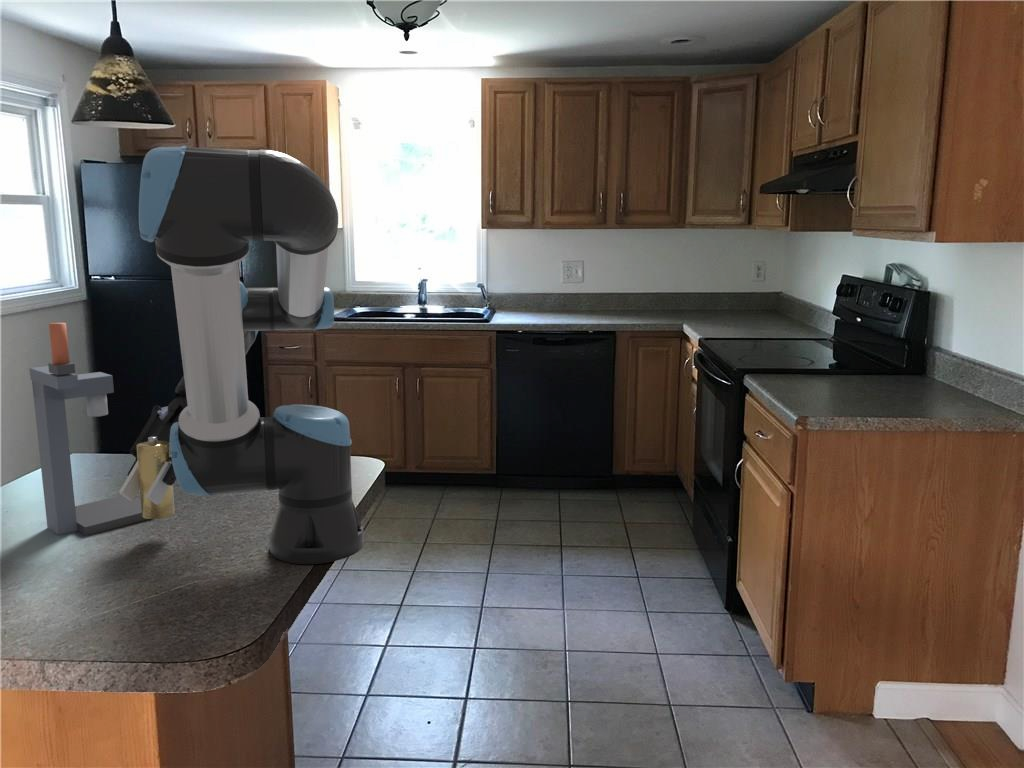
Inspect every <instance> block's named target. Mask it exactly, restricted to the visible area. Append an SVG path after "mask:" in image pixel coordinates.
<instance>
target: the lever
mask: <svg viewBox="0 0 1024 768" xmlns="http://www.w3.org/2000/svg"><path fill="white" fill-rule="evenodd" d="M67 331H68V329H67V323H66V322H49V323H48V332H49V339H50V340H49V341H50V349H51V361H52V362H48V363H47V364H48V365H47V366H49V372H50V373H53V374H56V375H63V374H72V373H73V374H76V366H75V363H73V362H71V361H70V352H69V341H68V332H67Z"/></svg>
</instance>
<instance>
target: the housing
mask: <svg viewBox="0 0 1024 768" xmlns="http://www.w3.org/2000/svg"><path fill="white" fill-rule="evenodd" d="M168 457H169V458H170V457H172V455H171V450H170V441H158V439H157V436H151V437H148V442H143V443H140V444H138V445H137V458H138V471H139V484H140V489H139V493H140V502H141V510H142V517H143V518H146V519H147V520H159V519H164V518H169V517H171V516H173V515H174V514H175V500H174V487H173V486H174V484H173V485H170V486H169V488H168V490H167V492H166V494H165V495H164V497H163V499H162V501H161V503H160V504H159V505H156V504H154V503H153V502H152V501H151V500H149V499H148V498H147V497H146V495H147V493H148V491H149V490H150V488H151V486H152V484H153V482H154V481H155V479H156V477H157V475H158V474H159V472H160V470H161V468H162V467H163V465H164V463H165V462H170V463H172V462H171V461H170V460H169V459H168Z"/></svg>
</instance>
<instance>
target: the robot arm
mask: <svg viewBox="0 0 1024 768" xmlns="http://www.w3.org/2000/svg"><path fill="white" fill-rule="evenodd" d="M338 229H339V211H338V207H337V203H336V201H335V198H334V196H333V195H332V193H331V190H330V189H329V187H328V186H327V185H326V183H325V182H324V181H323V180H322V178H320V176H319V175H317V173H316V172H314V170H312V169H311V168H310V167H308V166H307V165H306V164H304V163H303V162H301V160H298V159H297V158H294V157H292V156H290V155H288V154H286V153H283V152H279V151H276V150H271V149H241V148H240V149H239V148H238V149H237V148H236V149H235V148H215V147H214V148H213V147H190V146H187V145H181V146H179V147H178V146H177V147H176V146H175V147H172V146H170V147H169V146H168V147H167V146H165V147H162V146H161V147H155V148H152V149H150V150H149V151H148V152H146V154H145V156H144V157H143V162H142V167H141V173H140V182H139V197H138V230H139V234H140V238H141V239H142V240H143V241H146V242H148V243H153V242H154V246H155V250H156V255H157V257H158V258H159V259H160V260H161V261H163V262H164V263H166V264H167V265H168V266H170V270H171V279H172V287H173V295H174V302H175V303H174V304H175V311H176V319H177V328H178V329H177V330H178V336H179V337H178V338H179V346H180V354H181V360H182V361H181V363H182V369H183V370H182V371H183V376H182V377H181V378H180V380H179V382H178V384H177V386H176V387H175V391H174V392H175V397H174V399H173V400H172V401H171V402H170V403H169V404H168V406H163V407H161V406H159V405H158V404H156V405H154V406H153V408H152V410H151V414H150V417H149V418H148V420H147V422H146V423H145V425H143V426H144V427H143V428H142V430H141V432H140V434H139V435H138V436H137V438H136V440H135V441H134V443H133V445H132V446H131V448H130V450H129V454H131V456H133V457H134V458H135V460H134V461H133V464H132V465H131V468H129V470H128V472H127V478H126V480H125V481H124V483H123V484H122V486H121V488H120V489H119V491H118V493H119V494H120V496H121V495H123V496H124V497H125V498H127V499H128V500H130V501H133V499H135V497H136V496H137V494H138V492H139V491H140V484H139V471H138V458H137V445H138V444H140V443H143V442H148V437H151V436H157V439H158V441H168V442H170V454H171V457H170V458H169V457H168V459H169V460H170V461H171V463H170V462H165V463H164V465H163V467H162V468H161V470H160V472H159V474H158V475H157V477H156V479H155V481H154V482H153V484H152V486H151V488H150V490H149V491H148V493H147V495H146V497H147V498H148V499H149V500H151V501H152V502H153V503H154V504H156V505H159V504H160V503H161V501H162V499H163V497H164V495H165V494H166V492H167V490H168V488H169V486H170V485H173V486H174V484H175V482H176V481H177V483H178V486H179V487H180V489H181V490H182V491H183V492H184V493H185V494H187V495H191V496H210V497H211V496H212V497H215V496H217V495H225V494H237V493H238V494H239V493H250V492H251V493H253V492H264V491H276V490H277V491H278V507H277V510H276V513H275V516H274V520H273V524H272V529H271V532H270V535H269V552H270V554H271V556H272V557H274V558H275V559H277V560H279V561H281V562H282V561H283V562H284V563H288V564H296V565H319V564H320V565H321V564H326V563H327V564H328V563H333V562H337V561H340V560H344V559H346V558H349V557H352V556H353V555H355V554H357V553H358V552H360V550H362V549H363V547H364V545H365V534H364V533H365V532H364V527H363V525H362V523H361V519H360V516H359V514H358V512H357V509H356V506H355V503H354V501H353V487H352V486H353V485H352V482H353V481H352V464H351V463H352V461H351V460H352V459H351V446H352V443H353V442H352V439H351V430H350V429H351V428H350V422H349V419H348V417H347V416H346V415H345V414H344V413H342V412H341V411H338V410H336V409H333V408H331V407H330V408H329V407H326V406H321V405H314V404H299V403H298V404H290V405H289V404H286V405H285V404H284V405H280V406H278V407H276V408H275V410H274V412H273V416H265V417H261V415H260V410H259V408H258V407H257V405H256V404H255V403H254V402H252V401H251V400H249V394H248V393H249V392H248V378H247V376H248V375H247V364H246V356H247V354H248V352H249V351H250V348H251V347H252V345H253V344H254V343H255V341H256V338H257V335H258V334H259V332H261V331H262V332H263V331H265V332H267V331H316V330H322V329H323V330H324V329H326V330H327V329H330V328H332V327H333V326H334V325H335V324H334V323H335V302H334V300H335V299H334V292H333V291H332V289H331V288H329V287H327V286H326V287H325V285H326V276H327V267H328V265H327V264H328V255H329V254H328V253H329V247H330V246H332V244H333V243H334V241H335V240H336V237H337V234H338ZM264 241H265V242H266V241H268V242H269V241H270V242H274V243H275V246H276V248H275V249H276V269H277V270H276V272H277V287H245V285H244V283H243V282H242V281H241V280H240V278H241V277H240V266H239V264H240V263H241V262H242V261H243V260H244V259H245V258H247V257H248V255H249V253H250V242H264Z"/></svg>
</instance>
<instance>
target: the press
mask: <svg viewBox="0 0 1024 768" xmlns="http://www.w3.org/2000/svg"><path fill="white" fill-rule="evenodd" d="M28 369H29V375H30V376H29V377H30V381H31V386H32V393H33V403H34V411H35V423H36V424H35V425H36V432H37V433H36V434H37V441H38V442H37V443H38V451H39V460H40V468H41V469H40V470H41V480H42V489H43V499H44V507H45V516H46V519H45V520H46V526H47V527H46V528H47V529H48V530H49V531H51V532H53V533H55V534H56V535H57V536H62V535H65V534H68V533H73V532H77V531H78V532H79V533H81V534H82V535H84V536H89V535H93V534H96V533H101V532H105V531H108V530H109V531H110V530H112V529H116V528H120V527H124V526H128V525H132V524H135V523H138V522H139V523H140V522H143V521H148V519H146V518H143V517H142V510H141V500H138V499H136V498H134V499H133V501H130V500H128V499H127V498H125V497H124V496H123V495H121V494H120V495H118V496H117V495H116V496H112V497H108V498H105V499H100V500H97V501H91V502H88V503H83V504H80V505H79V504H78V505H76V501H75V494H74V493H75V492H74V482H73V474H72V473H73V472H72V462H71V454H70V452H71V451H70V443H69V442H70V441H69V433H68V432H69V431H68V420H67V413H66V401H65V400H70V399H71V400H72V399H76V398H85V402H86V414H87V416H88V417H90V418H94V417H103V416H104V417H105V416H107V415H109V408H108V397H107V396H108V395H107V394H113V393H115V390H114V378H113V375H112V374H108V373H105V372H102V371H97V372H96V371H95V372H89V373H79V374H76V373H72V374H63V375H56V374H53V373H50V372H49V366H48V365H45V366H36V367H29V368H28Z"/></svg>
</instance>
